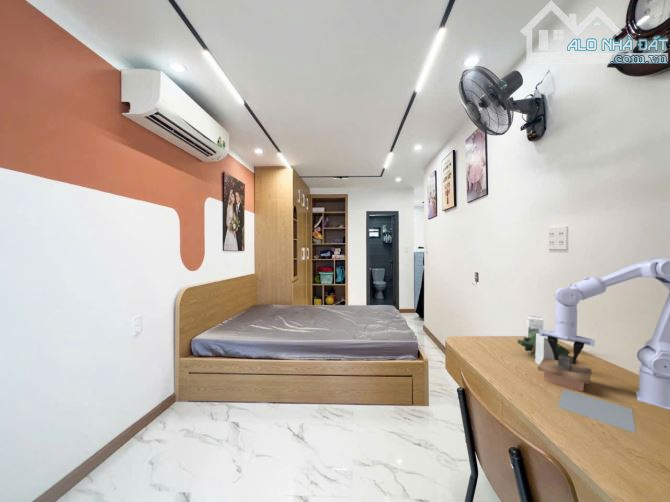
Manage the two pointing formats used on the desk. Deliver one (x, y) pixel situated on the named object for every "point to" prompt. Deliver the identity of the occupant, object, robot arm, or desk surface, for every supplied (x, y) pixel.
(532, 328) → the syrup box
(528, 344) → the green toy dinosaur
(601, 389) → the desk surface
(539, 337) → the skincare box
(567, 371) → the walnut lid
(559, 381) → the pink open box
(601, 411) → the rubber mat
